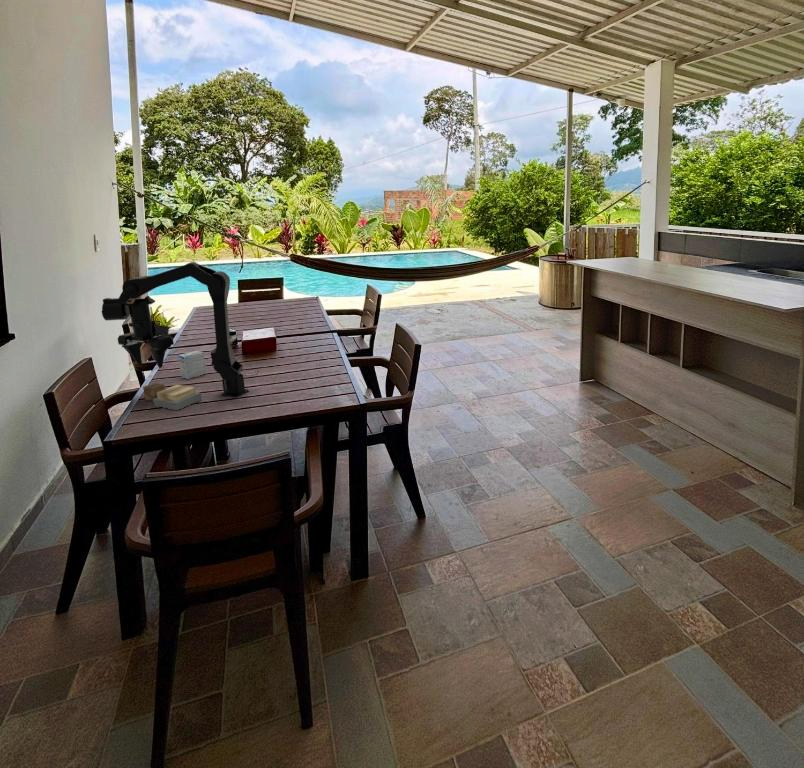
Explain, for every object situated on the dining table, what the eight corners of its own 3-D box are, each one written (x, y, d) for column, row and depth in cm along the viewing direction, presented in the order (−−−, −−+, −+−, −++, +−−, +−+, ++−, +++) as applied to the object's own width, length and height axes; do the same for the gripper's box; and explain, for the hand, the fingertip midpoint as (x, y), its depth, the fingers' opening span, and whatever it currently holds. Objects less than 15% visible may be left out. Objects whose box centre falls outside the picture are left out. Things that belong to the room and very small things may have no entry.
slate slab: (201, 400, 178) (200, 392, 178) (177, 410, 170) (176, 403, 169) (178, 396, 182) (177, 389, 182) (154, 406, 174) (152, 399, 173)
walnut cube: (166, 397, 183) (164, 384, 181) (155, 401, 179) (152, 388, 177) (156, 395, 184) (154, 382, 183) (145, 400, 181) (142, 387, 179)
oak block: (195, 393, 177) (194, 387, 176) (176, 401, 170) (175, 395, 170) (177, 390, 180) (176, 384, 180) (157, 398, 174) (156, 392, 173)
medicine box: (200, 372, 208) (197, 350, 205) (207, 374, 205) (203, 351, 202) (181, 377, 202) (177, 355, 199) (187, 380, 199) (184, 356, 197)
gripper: (182, 315, 176) (190, 362, 181) (141, 312, 184) (149, 357, 189) (154, 322, 167) (163, 371, 172) (112, 319, 174) (122, 366, 179)
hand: (150, 366), depth 178 cm, fingers open, 9 cm apart
